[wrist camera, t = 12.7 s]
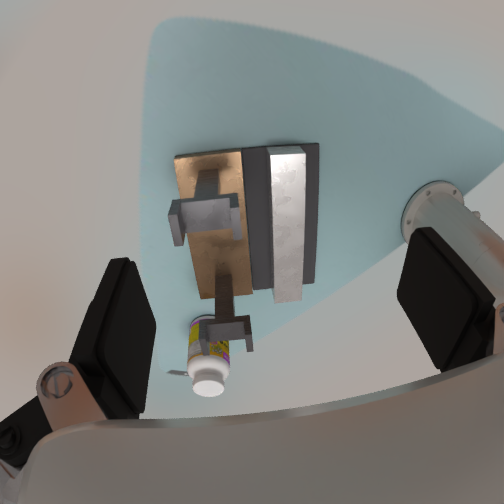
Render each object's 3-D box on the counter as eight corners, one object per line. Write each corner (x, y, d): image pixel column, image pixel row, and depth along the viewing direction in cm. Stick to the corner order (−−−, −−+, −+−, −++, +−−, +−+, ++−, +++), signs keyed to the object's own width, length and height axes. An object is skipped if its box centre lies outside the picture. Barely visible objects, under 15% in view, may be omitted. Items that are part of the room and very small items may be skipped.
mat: (318, 143, 38) (319, 144, 38) (313, 280, 50) (314, 283, 50) (241, 148, 38) (241, 149, 37) (253, 287, 50) (253, 290, 49)
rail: (298, 145, 37) (305, 153, 35) (296, 285, 50) (301, 300, 47) (266, 147, 37) (270, 155, 34) (271, 288, 50) (274, 303, 47)
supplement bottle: (235, 328, 55) (240, 390, 44) (207, 344, 57) (207, 404, 46) (210, 307, 52) (209, 371, 41) (181, 325, 53) (176, 387, 43)
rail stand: (240, 148, 38) (248, 191, 26) (251, 287, 50) (261, 357, 39) (175, 155, 37) (154, 202, 26) (201, 292, 50) (198, 363, 38)
